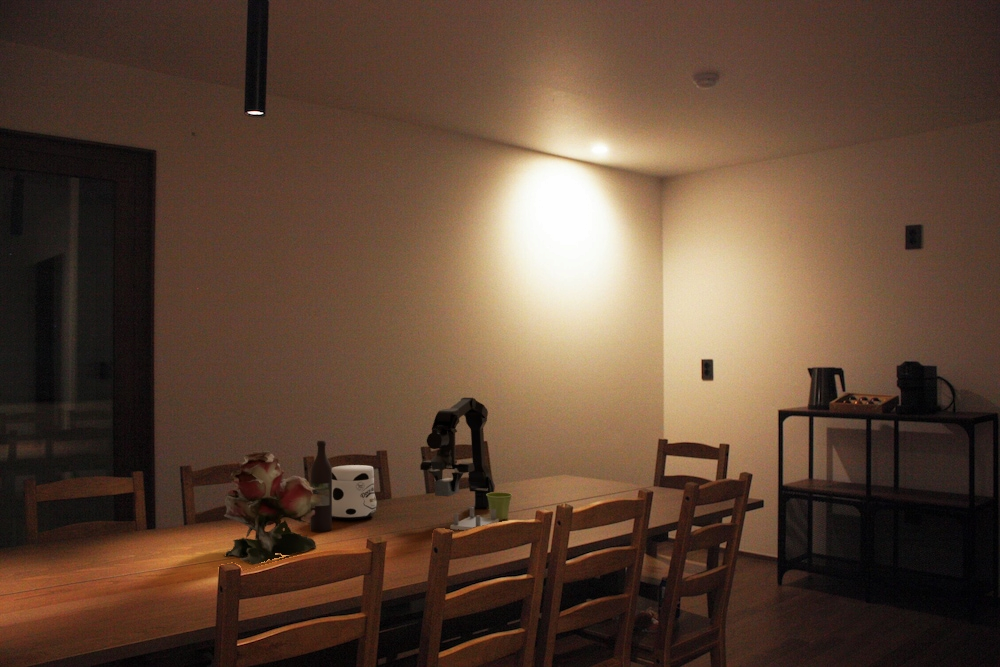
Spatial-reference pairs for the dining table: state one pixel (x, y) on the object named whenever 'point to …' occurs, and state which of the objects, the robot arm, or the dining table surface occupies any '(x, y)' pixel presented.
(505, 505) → the plant pot
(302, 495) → the rose bouquet
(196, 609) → the dining table surface
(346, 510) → the milk container
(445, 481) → the grey rectangular block
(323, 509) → the wine bottle
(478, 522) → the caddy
